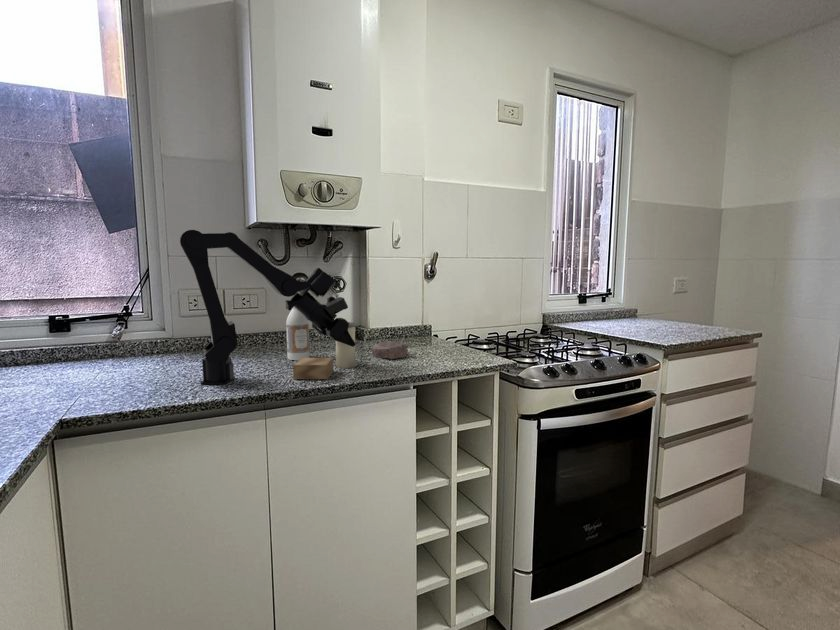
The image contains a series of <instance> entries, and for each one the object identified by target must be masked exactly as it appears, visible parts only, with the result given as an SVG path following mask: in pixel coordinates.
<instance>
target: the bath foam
mask: <svg viewBox="0 0 840 630" xmlns="http://www.w3.org/2000/svg"><path fill="white" fill-rule="evenodd" d="M309 324H310V323H309V320H307V319H306V318H305V316H304V315H303V314H302V313H301V312H300V311H298V310H297V309H296V308H295V307H293V308H292V309H291V310H290V312H289V314H288V316H287V318H286V323H285V325H286V329H285V330H286V352H287V353H286V354H287V359H288V360H289V361H292V360H294V362H295V361H296V362H297V361H299V360H300V359H301V358H311V357H310V356H311V355H310V325H309Z"/></svg>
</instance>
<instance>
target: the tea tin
mask: <svg viewBox="0 0 840 630" xmlns="http://www.w3.org/2000/svg"><path fill="white" fill-rule="evenodd" d="M347 322H348V321H347ZM348 323H349V327H348V332H349V334H350V336H351V337H352V339H353V340H354V342H355V343H356V323H355V322H350V321H349V322H348ZM356 366H357V365H356V345H355V346H354V347H352V346H349V345H347V344H344V343H341V342H338V341H335V367H336V368H337V367H338V368H337V369H351V368H355V367H356Z"/></svg>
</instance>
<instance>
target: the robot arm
mask: <svg viewBox="0 0 840 630" xmlns="http://www.w3.org/2000/svg"><path fill="white" fill-rule="evenodd" d="M179 239H180V240H179V245H180V247H181V249H182V251H183V253H184V254H185V257H186V258H187V261H188V262H189V264H190V266H191V267H192V269H193V272H194V275H195V279H196V281H197V285H198V287H199V292H200V295H201V297H202V301H203V304H204V308H205V311H206V313H207V316H208V319H209V321H208V322H209V331H210V332H209V333H210V339H211V340H210V342H208V344H207V345H205V347H204V348H203V349H202V350H203V353H204V357H205V358H203V359H202V361H201V363H202V379H203V380H201V381H200V385H225V384H228V383H229V382H231V381H232V380H234V379H235V378H236V377H235V373H234V371H235V370H234V362H232V357H231V356H230V355H231V353H232V352H234V351H235V349H237V347H238V339H240V337H239V336H238V334H237V332H236V331H237V330H236V325H235V322H233V321H232V320H231V321H227V319H226V316H225V313H224V311H223V308H222V304H221V301H220V298H219V294H218V291H217V287H216V286H215V281H214V278H213V276H212V272H211V269H210V263H209V253H208V249H212V250H213V249H224V248H225V249H228V250H229V251H230V252H232V253H233V254H235V256H237V257H238V258H239V259H241V260H242V261H243V262H244V263H246V264H247V265H248V266H250V267H251V268H252V269H253V270H254V271H256V272H257V273H258V274H260V275H261V276H262V277H263V279H265V281H266V282H267V283H268V284H269V286H270V287H272V289H273V290H274V291H275V292H276V293H277V294H279V295H280V296H284V297H287V298H288V297H291V298H290V299H285V301H284V302H285V309H286V310H288V311H291V310H292V308H293V307H295V308H296V309H297V310H298V311H300V312H301V313H302V314H303V315H304V316H305V318H306V319H307V320H308V322H311V328H312V329H313V330H315V332H317V333H319V334H320V335H324V336H326V337H329V338H331V340H332V341H335V342H336V341H338V342H341V343H344V344H347V345H349V346H352V347H354V346H355V347H356V345H357V344H356V341H355V342H354V340H353V339H352V337H351V336H350V334H349V332H348V327H349V323H348V321H347V319H345V318H343V317H338V315H337V314H338V313H341V312H342V311H344V310H347V309H348V308H349V305H348V304H347V301H346V299H345V298H344V297H341V296H339V297H336V298H335V297H334V296H328V297H327V299H326V300H327V301H326V303H325V304H323V303H321V302H319V300H318V299H316V298H319V297H322V298H323V297H324V296H325V295H327V293H328V292H329V291H330V290H331V288H333V286H335V284H336V280H335V279H334V278H333V277H332V275H330V274H328V273H327V272H325V271H324V270H323V269H321V268H320V267H316V268H315V269H314V270H313V272H312V274H310V276H308V278H306V280H304V279H300V280H297V278H296V277H294V276H292V275H291V274H289V273H287V272H285V271H284V270H281V269H279V268H278V267H275V266H274V265H272V263H270V262H269V261H268V260H266V259H265V258H264V257H263V256H262V255H260V254H259V253H257V251H256V250H254V249H253V248H252V247H250V246H249V245H248V244H247V243H245V242H244V241H243V240H242V239H240V238H239V236H238V235H237V234H236V233H235V232H230V231H229V232H226V233H225V232H221V233H219V232H218V233H217V232H216V233H209V232H208V233H203V232H201V231H199V230H195V229H188V230H186V231H184V232H183V233H182V234H181V235H180V238H179ZM300 291H301V292H300ZM298 292H300V293H298ZM315 297H316V298H315Z"/></svg>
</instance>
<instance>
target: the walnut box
mask: <svg viewBox="0 0 840 630" xmlns="http://www.w3.org/2000/svg"><path fill="white" fill-rule="evenodd" d="M292 371H293V373H292V374H293V376H292V377H293V380H294V379H327V380H329V378H330V377H331V376H332V374H333V373H334V372H335V371H334V357H309V358H301V359H300V360H299V361H296V362H295V363H294V364H293V365H292ZM332 372H333V373H332ZM329 376H330V377H329ZM328 377H329V378H328Z"/></svg>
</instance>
